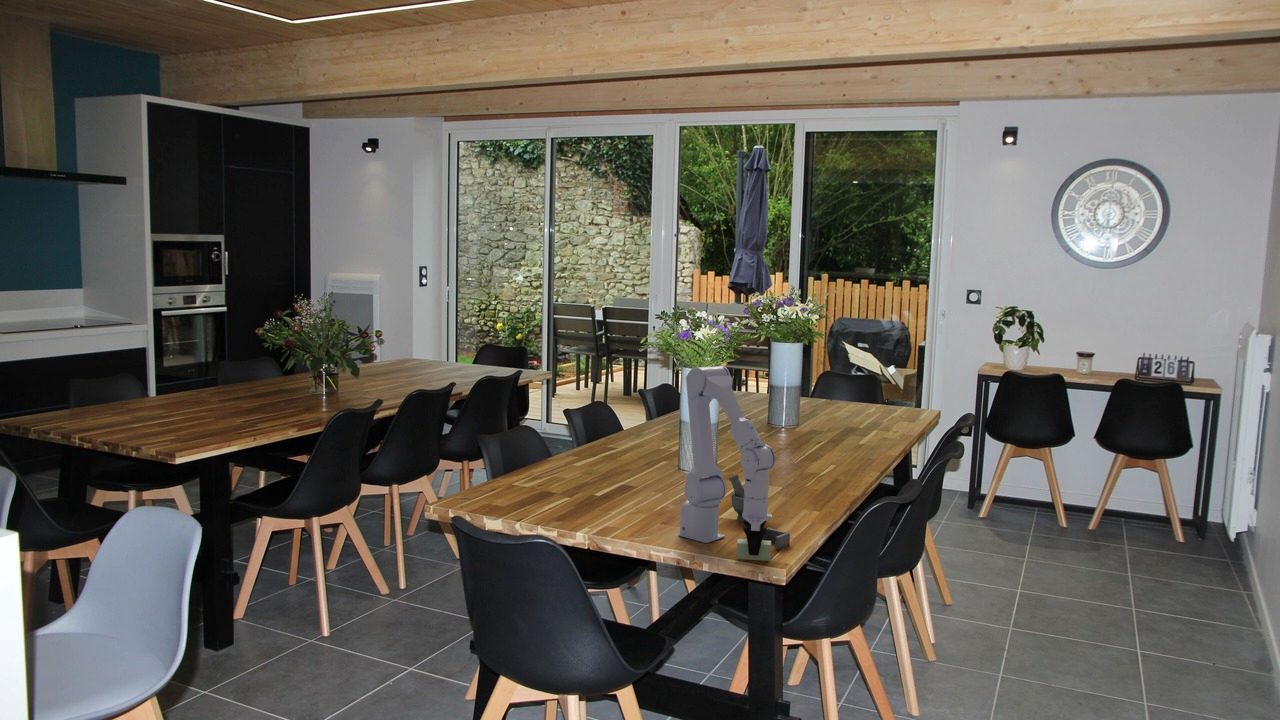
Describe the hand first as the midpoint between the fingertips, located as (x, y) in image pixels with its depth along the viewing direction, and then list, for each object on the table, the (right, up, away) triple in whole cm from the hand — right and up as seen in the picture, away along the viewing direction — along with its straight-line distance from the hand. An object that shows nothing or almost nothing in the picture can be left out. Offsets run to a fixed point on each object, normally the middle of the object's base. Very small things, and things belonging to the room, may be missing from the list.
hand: (753, 551), depth 226 cm
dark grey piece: (+6, 0, +11) cm, 12 cm away
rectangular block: (0, -2, 0) cm, 2 cm away
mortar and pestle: (+2, +2, +33) cm, 33 cm away
